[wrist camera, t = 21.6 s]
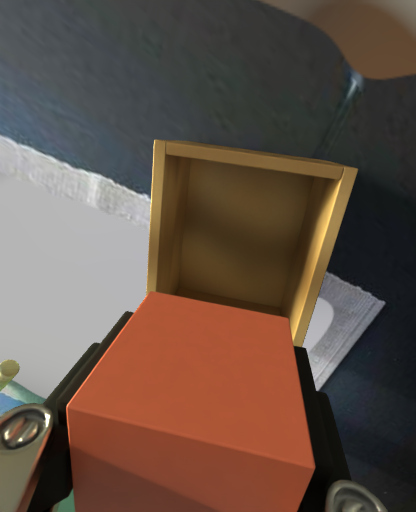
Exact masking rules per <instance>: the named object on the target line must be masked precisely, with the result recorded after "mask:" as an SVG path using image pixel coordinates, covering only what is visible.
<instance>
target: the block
mask: <svg viewBox="0 0 416 512" xmlns="http://www.w3.org/2000/svg"><path fill="white" fill-rule="evenodd" d="M66 411H67V423H68V435H69V446H70V458H71V470H72V482H73V494H74V506H75V512H297V510H298V508H299V506H300V503H301V501H302V499H303V496H304V494H305V491H306V489H307V487H308V484H309V482H310V480H311V477H312V475H313V473H314V470H315V462H314V456H313V451H312V445H311V440H310V434H309V429H308V423H307V417H306V412H305V406H304V401H303V395H302V390H301V384H300V379H299V373H298V368H297V362H296V356H295V351H294V345H293V340H292V334H291V329H290V323H289V319H288V318H285V317H280V316H275V315H270V314H265V313H260V312H255V311H250V310H245V309H240V308H235V307H230V306H224V305H219V304H214V303H209V302H204V301H199V300H194V299H189V298H184V297H179V296H174V295H169V294H164V293H159V292H153V291H150V292H149V293H148V295H147V296H146V297H145V299H144V300H143V302H142V303H141V304H140V306H139V307H138V308H137V310H136V311H135V313H134V314H133V315H132V317H131V318H130V319H129V321H128V322H127V324H126V325H125V326H124V328H123V329H122V330H121V332H120V333H119V335H118V336H117V337H116V339H115V340H114V341H113V343H112V344H111V346H110V347H109V348H108V350H107V351H106V352H105V354H104V355H103V357H102V358H101V359H100V361H99V362H98V363H97V365H96V366H95V368H94V369H93V370H92V372H91V373H90V374H89V376H88V377H87V378H86V380H85V381H84V383H83V384H82V385H81V387H80V388H79V389H78V391H77V392H76V394H75V395H74V396H73V398H72V399H71V400H70V402H69V403H68V405H67V407H66Z"/></svg>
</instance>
